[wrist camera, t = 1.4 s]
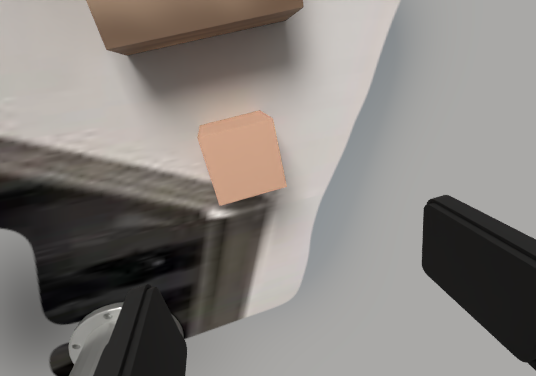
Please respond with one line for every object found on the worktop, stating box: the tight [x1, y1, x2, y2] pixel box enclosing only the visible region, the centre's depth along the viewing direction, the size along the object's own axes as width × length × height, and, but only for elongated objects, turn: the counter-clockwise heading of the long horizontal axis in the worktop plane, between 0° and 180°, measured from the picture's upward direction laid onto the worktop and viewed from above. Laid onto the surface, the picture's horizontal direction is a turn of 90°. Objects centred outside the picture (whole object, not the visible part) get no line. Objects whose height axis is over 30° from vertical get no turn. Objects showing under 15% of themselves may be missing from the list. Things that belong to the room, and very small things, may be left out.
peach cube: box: [198, 110, 287, 206], centre depth 25 cm, size 6×6×6 cm
